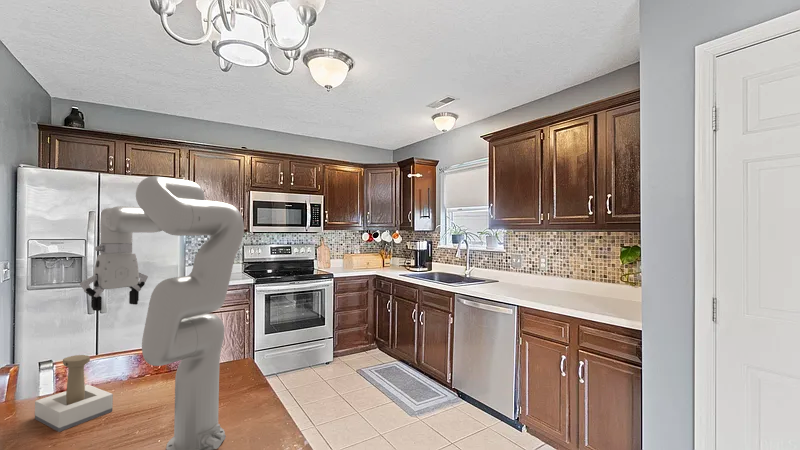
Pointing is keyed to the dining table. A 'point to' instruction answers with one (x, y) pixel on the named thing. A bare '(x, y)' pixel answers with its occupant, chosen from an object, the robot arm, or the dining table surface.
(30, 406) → the dining table surface
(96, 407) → the socket stand
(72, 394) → the handle
